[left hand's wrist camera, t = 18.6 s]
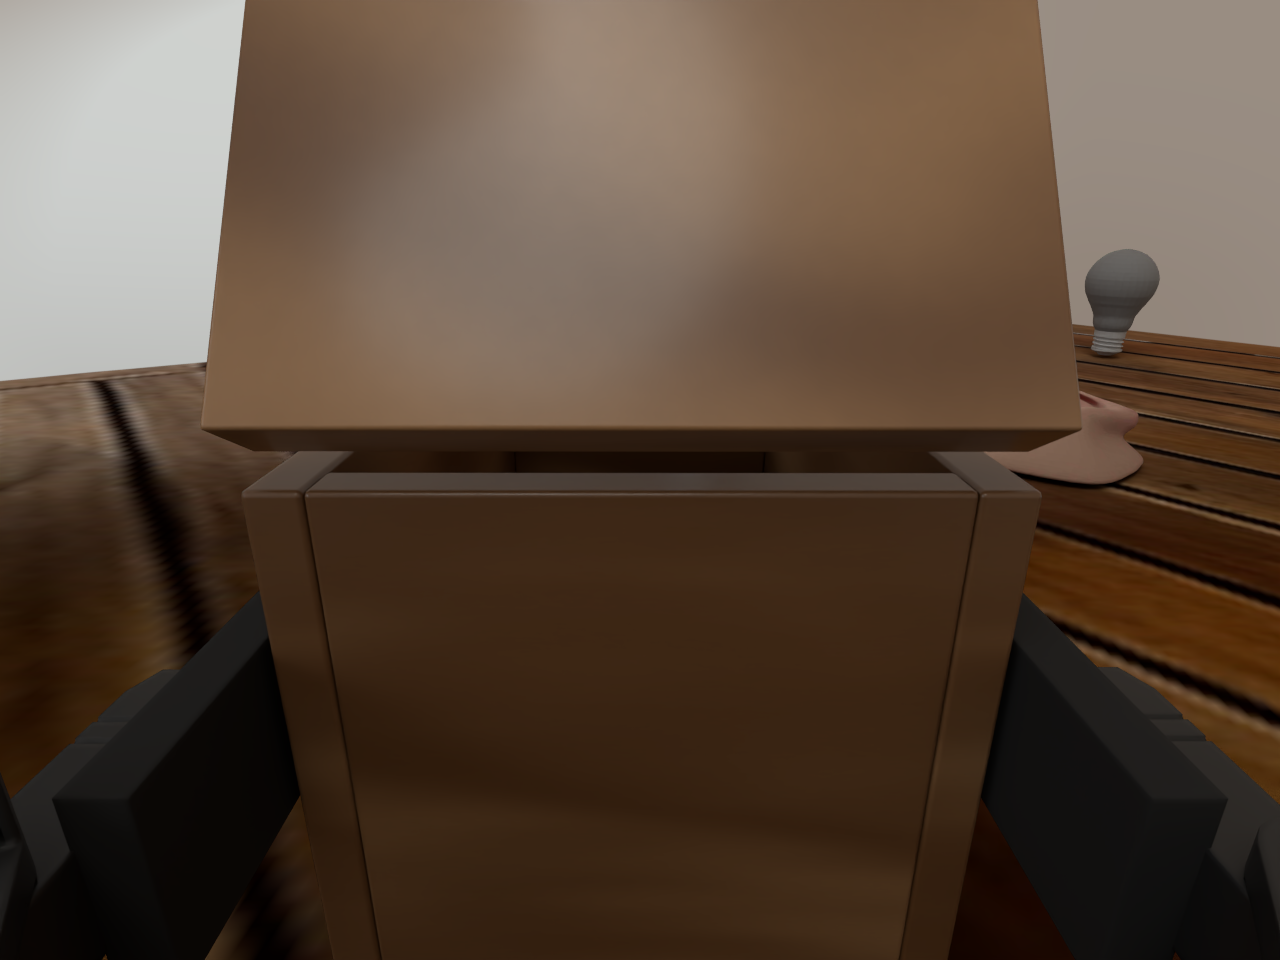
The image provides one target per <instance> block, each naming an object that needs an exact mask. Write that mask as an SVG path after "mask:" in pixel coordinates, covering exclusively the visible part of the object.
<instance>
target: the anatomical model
mask: <svg viewBox="0 0 1280 960" xmlns="http://www.w3.org/2000/svg"><path fill="white" fill-rule="evenodd" d="M1079 395H1080V404H1081V414H1082V423H1083V427H1082V430H1081V431H1079V432H1076V433H1074V434H1071V435H1069V436H1066V437H1064V438H1061V439H1059V440H1056V441H1054V442H1051V443H1049V444H1046V445H1044V446H1041V447H1039V448H1037V449H1034V450H1032V451H1029V452H984V453H986V454H987V455H988V456H990V457H991V458H993V459H994V460H996V461H997V462H998V463H1000V464H1001V465H1003V466H1004V467H1005V468H1007V469H1008V470H1010V471H1012V472H1017V473H1021V474H1026V475H1031V476H1036V477H1042V478H1047V479H1053V480H1059V481H1065V482H1072V483H1080V484H1107V483H1112V482H1115V481H1118V480H1121V479H1123V478H1125V477H1126V476H1128V475H1130V474H1132V473H1134V472H1135V471H1137V470H1138V469H1139V467H1140V466H1141V465H1142V463H1143V458H1142V456H1141V455H1140V454H1139V453H1138V452H1137V451H1136V450H1135V449H1134V448H1132V447H1131V446H1130V445H1129V444H1128V443H1127V442H1126V441H1125V440H1124V438H1123V436H1124V434H1125V433H1127V432H1128V431H1129V430H1131V429H1132V428H1134V427H1135V426H1136V424H1137V422H1138V414H1137V413H1136V412H1135V411H1134V410H1131V409H1129V408H1127V407H1124V406H1121V405H1119V404H1116V403H1113V402H1110V401H1107V400H1104V399H1101V398H1098V397H1095V396H1092V395H1089V394H1087V393H1084V392H1081V391H1079Z"/></svg>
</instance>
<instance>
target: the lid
mask: <svg viewBox="0 0 1280 960" xmlns="http://www.w3.org/2000/svg"><path fill="white" fill-rule="evenodd" d="M200 426H201V429H202V430H204V431H206V432H209V433H211V434H214V435H216V436H218V437H221V438H223V439H226V440H228V441H231V442H233V443H235V444H238V445H240V446H243V447H245V448H248V449H250V450H252V451H572V452H1029V451H1032V450H1034V449H1037V448H1039V447H1041V446H1044V445H1046V444H1049V443H1051V442H1054V441H1056V440H1059V439H1061V438H1064V437H1066V436H1069V435H1071V434H1074V433H1076V432H1079V431H1081V430H1082V427H1083V423H1082V414H1081V404H1080V395H1079V385H1078V376H1077V367H1076V357H1075V348H1074V338H1073V329H1072V320H1071V310H1070V301H1069V292H1068V283H1067V273H1066V264H1065V254H1064V245H1063V235H1062V226H1061V217H1060V207H1059V198H1058V189H1057V179H1056V170H1055V160H1054V151H1053V142H1052V132H1051V123H1050V113H1049V104H1048V95H1047V85H1046V76H1045V67H1044V57H1043V48H1042V39H1041V29H1040V20H1039V10H1038V1H1037V0H246V1H245V11H244V20H243V29H242V39H241V48H240V58H239V67H238V76H237V86H236V95H235V105H234V114H233V123H232V132H231V142H230V151H229V161H228V170H227V179H226V189H225V198H224V208H223V217H222V226H221V236H220V245H219V254H218V264H217V274H216V282H215V292H214V301H213V311H212V320H211V329H210V339H209V348H208V357H207V367H206V376H205V385H204V395H203V404H202V414H201V423H200Z"/></svg>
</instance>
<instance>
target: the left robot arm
mask: <svg viewBox="0 0 1280 960" xmlns="http://www.w3.org/2000/svg"><path fill="white" fill-rule="evenodd" d="M75 739H76V741H75V743H74V744H69V745H68V746H67V747H66V748H65V749H64V750H63V751H62V752H61V753H59V754H58V755H57V756H56V757H55V758H54V759H53V760H52V761H51V762H50V763H49V764H48V765H47V766H46V767H45V768H43V769H42V770H41V771H40V772H39V773H38V774H37V775H36V776H35V777H34V778H33V779H32V780H31V781H30V782H29V783H27V784H26V785H25V786H24V787H23V788H22V789H21V790H20V791H19V792H18V793H17V794H16V795H15V796H14V797H13V798H11V799H10V797H9V795H8V792H7V789H6V786H5V784H4V781H3V778H2V776H1V773H0V960H102V959H103V957H104V956H105V954H106V956H107V959H108V960H205V958H206V956H207V955H208V953H209V951H210V950H211V948H212V946H213V944H214V943H215V941H216V939H217V937H218V936H219V934H220V932H221V931H222V929H223V927H224V925H225V924H226V922H227V920H228V919H229V917H230V915H231V913H232V912H233V910H234V908H235V906H236V905H237V903H238V901H239V900H240V898H241V896H242V894H243V893H244V891H245V889H246V887H247V886H248V884H249V882H250V881H251V879H252V877H253V875H254V874H255V872H256V870H257V869H258V867H259V865H260V863H261V862H262V860H263V858H264V856H265V855H266V853H267V851H268V850H269V848H270V846H271V844H272V843H273V841H274V839H275V837H276V836H277V834H278V832H279V831H280V829H281V827H282V825H283V824H284V822H285V820H286V819H287V817H288V815H289V813H290V812H291V810H292V808H293V806H294V805H295V803H296V801H297V800H298V798H299V796H300V790H299V785H298V780H297V775H296V770H295V765H294V760H293V755H292V750H291V745H290V740H289V735H288V730H287V725H286V720H285V715H284V710H283V705H282V700H281V695H280V690H279V685H278V680H277V675H276V670H275V665H274V660H273V655H272V650H271V645H270V640H269V635H268V630H267V625H266V620H265V615H264V610H263V605H262V600H261V595H260V590H259V591H258V592H257V593H256V594H255V595H254V596H253V597H252V598H251V599H250V600H249V601H248V602H247V603H246V604H245V605H244V606H243V607H242V608H241V609H240V610H239V611H238V612H237V613H236V614H235V615H234V616H233V617H232V618H231V619H230V620H229V621H228V622H227V623H226V624H225V625H224V626H223V627H222V628H221V629H220V630H219V631H218V632H217V633H216V634H215V635H214V636H213V637H212V638H211V639H210V640H209V641H208V642H207V643H206V644H205V645H204V646H203V647H202V648H201V649H200V650H199V651H198V652H197V653H196V654H195V655H194V656H193V657H192V658H191V659H190V660H189V661H188V662H187V663H186V665H185V666H184V667H183V668H182V669H181V670H162V671H160V672H158V673H156V674H155V675H153V676H151V677H150V678H148V679H146V680H144V681H143V682H141V683H139V684H138V685H136V686H134V687H132V688H131V689H129V690H127V691H126V692H125V693H123V694H122V695H121V696H120V697H119V698H118V699H117V700H116V701H115V702H114V703H113V704H112V705H111V706H110V707H109V708H107V709H106V710H105V711H104V712H103V713H102V714H101V715H100V716H99V717H98V722H93V723H91V724H90V725H89V726H88V727H87V728H86V729H85V730H84V731H83V732H82V733H81V734H80V735H79V736H78V737H77V738H75ZM981 798H982V800H983V801H984V803H985V805H986V807H987V808H988V810H989V812H990V813H991V815H992V817H993V819H994V820H995V822H996V824H997V825H998V827H999V829H1000V831H1001V832H1002V834H1003V836H1004V838H1005V839H1006V841H1007V843H1008V844H1009V846H1010V848H1011V850H1012V851H1013V853H1014V855H1015V857H1016V858H1017V860H1018V862H1019V863H1020V865H1021V867H1022V869H1023V870H1024V872H1025V874H1026V875H1027V877H1028V879H1029V881H1030V882H1031V884H1032V886H1033V888H1034V889H1035V891H1036V893H1037V894H1038V896H1039V898H1040V900H1041V901H1042V903H1043V905H1044V907H1045V908H1046V910H1047V912H1048V913H1049V915H1050V917H1051V919H1052V920H1053V922H1054V924H1055V925H1056V927H1057V929H1058V931H1059V932H1060V934H1061V936H1062V938H1063V939H1064V941H1065V943H1066V944H1067V946H1068V948H1069V950H1070V951H1071V953H1072V955H1073V956H1074V958H1075V960H1172V959H1173V956H1174V953H1175V952H1176V953H1177V955H1178V956H1179V957H1180V959H1181V960H1280V805H1279V804H1278V803H1277V802H1276V801H1275V800H1274V799H1273V798H1272V797H1271V796H1269V795H1268V794H1267V793H1266V792H1265V791H1264V790H1263V789H1262V788H1261V787H1260V786H1259V785H1258V784H1257V783H1255V782H1254V781H1253V780H1252V779H1251V778H1250V777H1249V776H1248V775H1247V774H1246V773H1245V772H1244V771H1243V770H1242V769H1240V768H1239V767H1238V766H1237V765H1236V764H1235V763H1234V762H1233V761H1232V760H1231V759H1230V758H1229V757H1228V756H1226V755H1225V754H1224V753H1223V752H1222V751H1221V750H1220V749H1219V748H1218V747H1217V746H1216V745H1215V744H1214V743H1213V742H1211V741H1206V739H1205V735H1204V734H1203V733H1202V732H1201V731H1200V730H1199V729H1198V728H1196V727H1195V726H1194V725H1193V724H1192V723H1191V722H1190V721H1189V720H1184V719H1183V717H1182V714H1181V713H1180V712H1179V711H1178V710H1177V709H1176V708H1175V707H1174V706H1173V705H1172V704H1171V703H1170V702H1169V701H1167V700H1166V699H1165V698H1164V697H1163V696H1162V695H1161V694H1160V693H1159V692H1158V691H1157V690H1156V689H1154V688H1153V687H1151V686H1149V685H1147V684H1146V683H1144V682H1142V681H1140V680H1139V679H1137V678H1135V677H1134V676H1132V675H1130V674H1128V673H1127V672H1125V671H1123V670H1121V669H1120V668H1118V667H1096V666H1095V665H1094V664H1093V663H1092V662H1091V661H1090V660H1089V659H1088V658H1087V657H1086V656H1085V655H1084V654H1083V653H1082V652H1081V651H1080V650H1079V649H1078V648H1077V647H1076V646H1075V645H1074V643H1073V642H1072V641H1071V640H1070V639H1069V638H1068V637H1067V636H1066V635H1065V634H1064V633H1063V632H1062V631H1061V630H1060V629H1059V628H1058V627H1057V626H1056V625H1055V624H1054V623H1053V622H1052V621H1051V620H1050V619H1049V618H1048V617H1047V616H1046V615H1045V614H1044V613H1043V612H1042V611H1041V610H1040V609H1039V608H1038V607H1037V606H1036V605H1035V604H1034V603H1033V602H1032V601H1031V600H1030V599H1029V598H1028V597H1027V596H1026V595H1025V594H1024V593H1023V592H1022V597H1021V602H1020V607H1019V612H1018V617H1017V622H1016V627H1015V632H1014V637H1013V641H1012V646H1011V651H1010V656H1009V661H1008V666H1007V671H1006V676H1005V681H1004V686H1003V691H1002V695H1001V700H1000V705H999V710H998V715H997V720H996V725H995V730H994V735H993V740H992V744H991V749H990V754H989V759H988V764H987V769H986V774H985V779H984V784H983V789H982V793H981Z"/></svg>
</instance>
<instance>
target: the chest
mask: <svg viewBox="0 0 1280 960" xmlns="http://www.w3.org/2000/svg"><path fill="white" fill-rule="evenodd" d="M1041 499H1042V497H1041V493H1040V491H1038V490H1037V489H1035V488H1034V487H1032V486H1031V485H1030V484H1028V483H1027V482H1025V481H1024V480H1023V479H1021V478H1020V477H1018V476H1017V475H1015V474H1014V473H1013V472H1011V471H1010V470H1008V469H1007V468H1005V467H1004V466H1003V465H1001V464H1000V463H998V462H997V461H996V460H994V459H993V458H991V457H990V456H988V455H987V454H986V453H984V452H572V451H299V452H297V453H296V454H294V455H293V456H292V457H290V458H289V459H287V460H286V461H285V462H283V463H282V464H280V465H279V466H278V467H276V468H275V469H273V470H272V471H271V472H269V473H268V474H266V475H265V476H264V477H262V478H261V479H259V480H258V481H257V482H255V483H254V484H252V485H251V486H250V487H248V488H247V489H245V490H244V491H243V492H242V495H241V500H242V505H243V510H244V515H245V520H246V525H247V530H248V535H249V540H250V545H251V550H252V555H253V560H254V565H255V570H256V575H257V580H258V585H259V590H260V595H261V600H262V605H263V610H264V615H265V620H266V625H267V630H268V635H269V640H270V645H271V650H272V655H273V660H274V665H275V670H276V675H277V680H278V685H279V690H280V695H281V700H282V705H283V710H284V715H285V720H286V725H287V730H288V735H289V740H290V745H291V750H292V755H293V760H294V765H295V770H296V775H297V780H298V785H299V790H300V795H301V800H302V805H303V810H304V816H305V821H306V826H307V831H308V836H309V841H310V846H311V851H312V856H313V861H314V866H315V871H316V876H317V881H318V886H319V891H320V896H321V901H322V906H323V911H324V916H325V921H326V926H327V931H328V936H329V941H330V946H331V951H332V956H333V960H948V955H949V950H950V945H951V940H952V936H953V931H954V926H955V921H956V916H957V911H958V906H959V901H960V896H961V891H962V887H963V882H964V877H965V872H966V867H967V862H968V857H969V852H970V847H971V842H972V838H973V833H974V828H975V823H976V818H977V813H978V808H979V803H980V798H981V793H982V789H983V784H984V779H985V774H986V769H987V764H988V759H989V754H990V749H991V744H992V740H993V735H994V730H995V725H996V720H997V715H998V710H999V705H1000V700H1001V695H1002V691H1003V686H1004V681H1005V676H1006V671H1007V666H1008V661H1009V656H1010V651H1011V646H1012V641H1013V637H1014V632H1015V627H1016V622H1017V617H1018V612H1019V607H1020V602H1021V597H1022V592H1023V588H1024V583H1025V578H1026V573H1027V568H1028V563H1029V558H1030V553H1031V548H1032V543H1033V539H1034V534H1035V529H1036V524H1037V519H1038V514H1039V509H1040V504H1041Z"/></svg>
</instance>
